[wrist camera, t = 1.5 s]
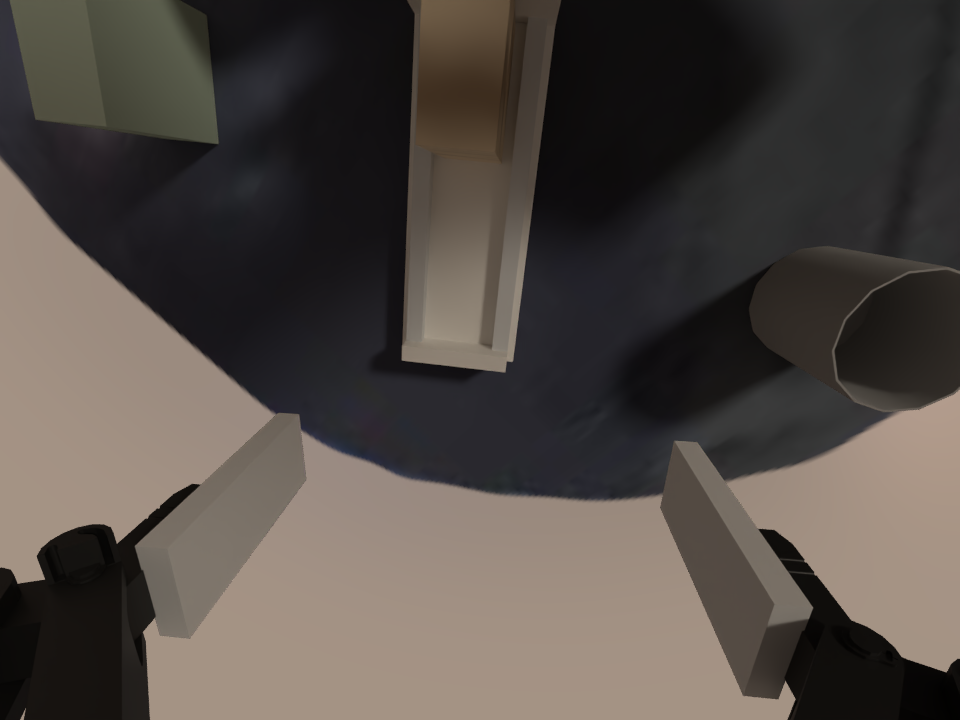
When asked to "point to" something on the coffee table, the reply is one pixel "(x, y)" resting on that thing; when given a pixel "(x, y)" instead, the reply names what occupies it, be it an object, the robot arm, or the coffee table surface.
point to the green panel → (119, 66)
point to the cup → (864, 324)
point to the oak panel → (464, 77)
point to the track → (476, 218)
